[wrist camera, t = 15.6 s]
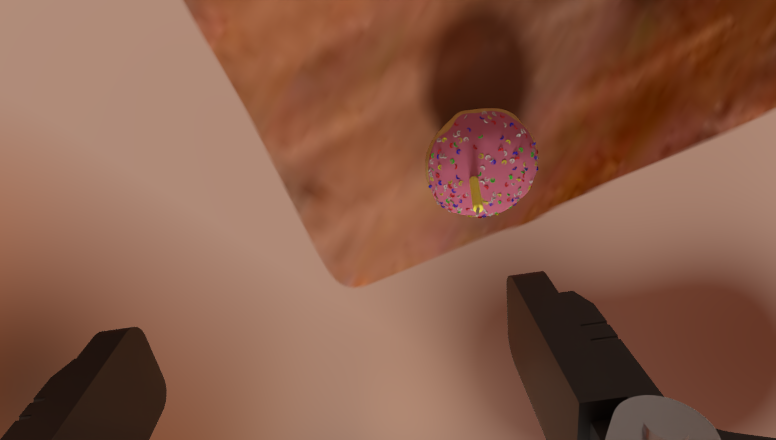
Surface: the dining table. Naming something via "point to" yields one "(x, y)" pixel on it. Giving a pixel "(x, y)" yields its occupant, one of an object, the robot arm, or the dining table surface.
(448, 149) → the cupcake
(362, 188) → the dining table surface
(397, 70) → the dining table surface
